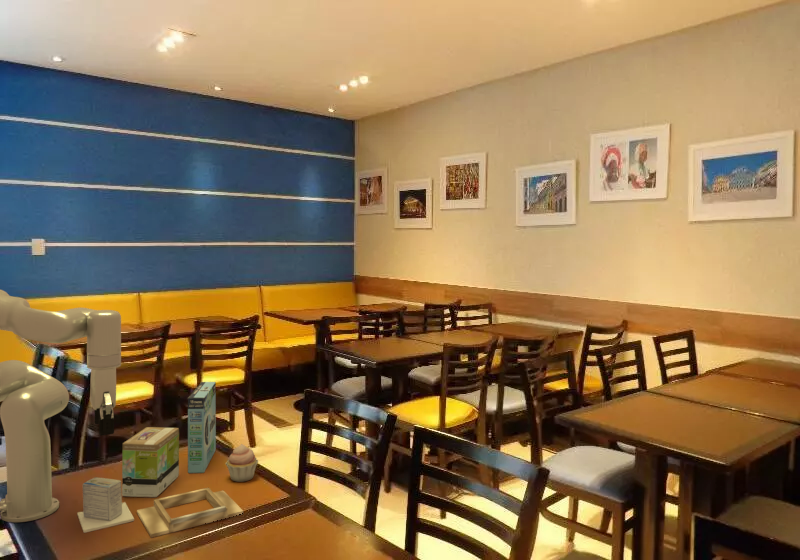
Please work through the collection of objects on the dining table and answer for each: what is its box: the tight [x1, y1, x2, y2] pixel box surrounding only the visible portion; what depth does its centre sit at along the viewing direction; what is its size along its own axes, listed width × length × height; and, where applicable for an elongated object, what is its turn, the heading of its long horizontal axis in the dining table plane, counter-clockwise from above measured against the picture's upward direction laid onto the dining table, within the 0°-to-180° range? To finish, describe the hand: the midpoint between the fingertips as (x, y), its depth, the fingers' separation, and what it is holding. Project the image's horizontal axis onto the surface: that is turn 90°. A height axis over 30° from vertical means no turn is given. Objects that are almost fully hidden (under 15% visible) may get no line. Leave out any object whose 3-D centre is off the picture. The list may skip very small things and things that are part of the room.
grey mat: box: [77, 501, 135, 534], centre depth 149 cm, size 11×11×1 cm
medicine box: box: [82, 476, 123, 521], centre depth 149 cm, size 8×4×9 cm, turn 75°
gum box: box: [187, 381, 217, 474], centre depth 187 cm, size 20×5×23 cm, turn 7°
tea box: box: [121, 426, 180, 498], centre depth 168 cm, size 15×10×15 cm, turn 179°
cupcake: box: [225, 443, 259, 483], centre depth 175 cm, size 9×9×10 cm
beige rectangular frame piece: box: [136, 487, 244, 539], centre depth 152 cm, size 22×15×3 cm
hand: (104, 428), depth 150 cm, fingers open, 9 cm apart
